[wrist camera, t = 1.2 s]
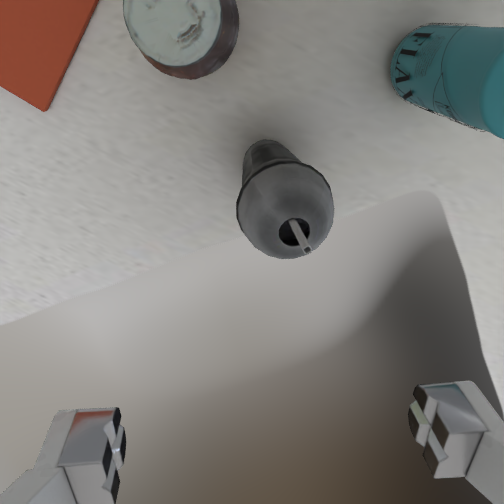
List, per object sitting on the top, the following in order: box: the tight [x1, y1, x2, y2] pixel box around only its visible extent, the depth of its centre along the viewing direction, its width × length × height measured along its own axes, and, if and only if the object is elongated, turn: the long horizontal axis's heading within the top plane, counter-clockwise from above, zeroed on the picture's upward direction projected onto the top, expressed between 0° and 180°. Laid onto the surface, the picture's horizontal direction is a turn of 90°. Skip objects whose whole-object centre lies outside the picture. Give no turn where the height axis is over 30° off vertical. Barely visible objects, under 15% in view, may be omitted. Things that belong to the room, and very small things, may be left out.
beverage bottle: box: [390, 23, 504, 139], centre depth 29 cm, size 6×7×20 cm
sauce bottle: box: [123, 0, 239, 80], centre depth 25 cm, size 7×6×20 cm
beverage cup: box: [236, 140, 334, 259], centre depth 32 cm, size 7×7×20 cm
